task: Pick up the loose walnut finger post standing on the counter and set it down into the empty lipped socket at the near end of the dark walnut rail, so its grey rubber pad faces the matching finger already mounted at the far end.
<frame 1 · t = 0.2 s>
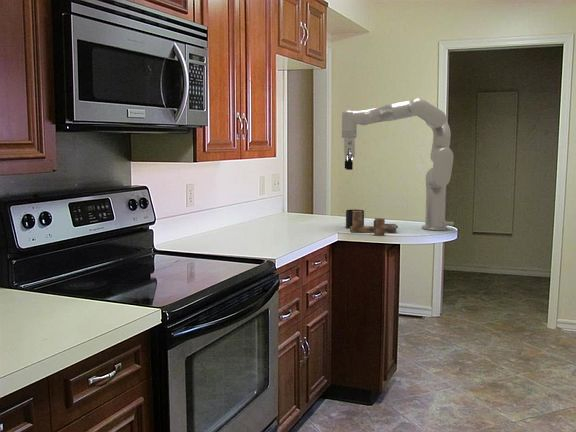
hand: (348, 169, 317), 31 cm above the countertop, fingers open, 9 cm apart
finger: (379, 234, 302), on the countertop
rail: (373, 231, 311), on the countertop
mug: (355, 227, 326), on the countertop
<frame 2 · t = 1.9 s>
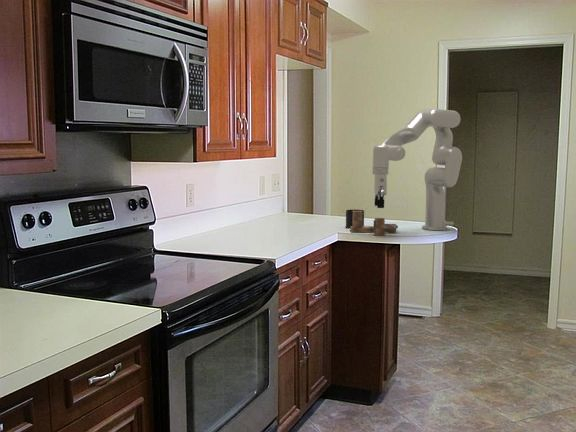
hand: (379, 206, 300), 14 cm above the countertop, fingers open, 9 cm apart
nothing on the countertop moved.
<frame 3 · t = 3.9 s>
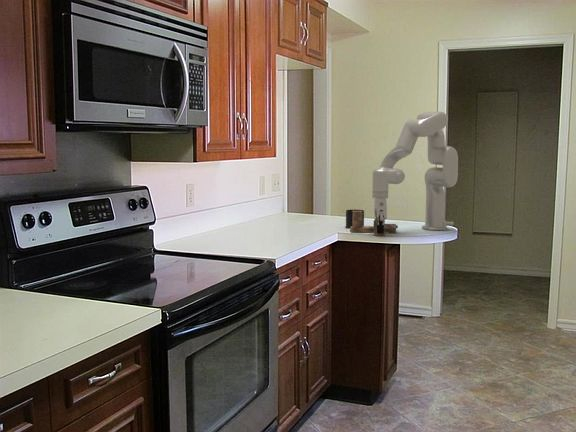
hand: (379, 232, 301), 1 cm above the countertop, fingers closed on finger, 4 cm apart
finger: (379, 234, 302), on the countertop, touching gripper
everything else where it was.
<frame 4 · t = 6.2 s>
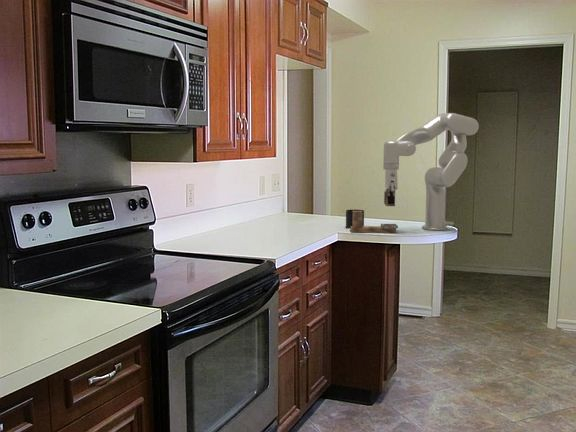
hand: (390, 203, 309), 15 cm above the countertop, fingers closed on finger, 4 cm apart
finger: (389, 205, 309), point 13 cm above the countertop, touching gripper
everything else where it was.
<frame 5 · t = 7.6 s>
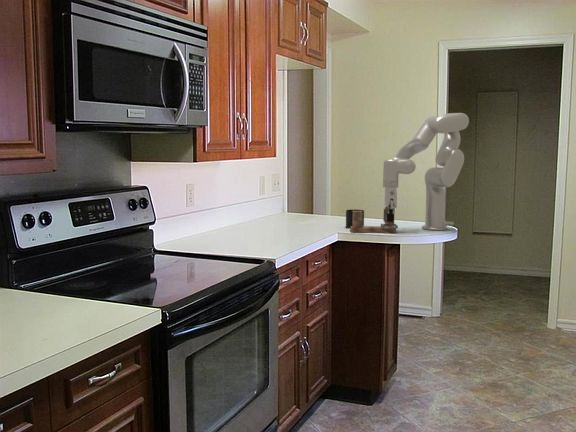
hand: (389, 220, 310), 6 cm above the countertop, fingers closed on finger, 4 cm apart
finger: (389, 223, 310), point 4 cm above the countertop, touching gripper
everything else where it was.
when the fingers open (5 cm above the countertop, at t = 8.6 s): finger stays where it is, resting on rail.
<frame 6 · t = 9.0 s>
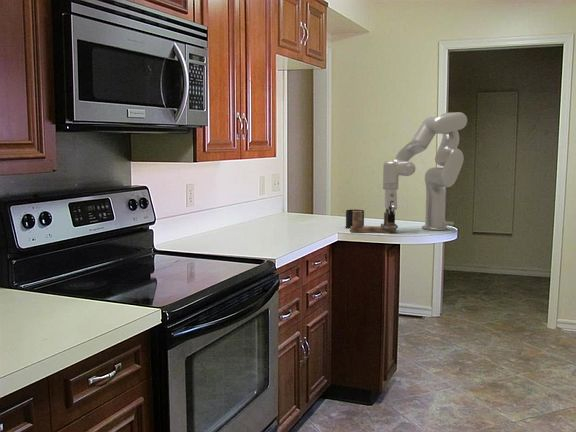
hand: (389, 220, 310), 6 cm above the countertop, fingers open, 8 cm apart
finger: (389, 227, 310), point 2 cm above the countertop, touching rail
everything else where it was.
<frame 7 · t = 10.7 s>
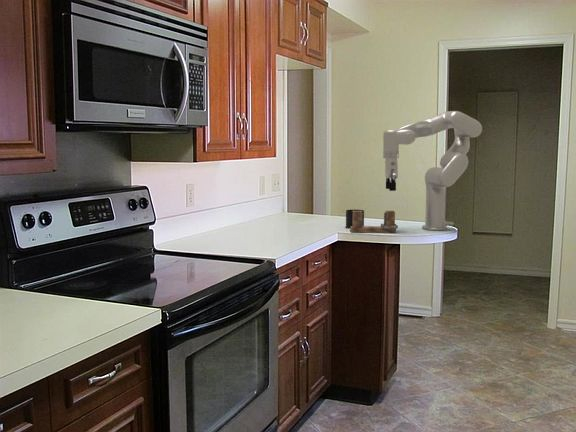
hand: (390, 189, 309), 21 cm above the countertop, fingers open, 9 cm apart
nothing on the countertop moved.
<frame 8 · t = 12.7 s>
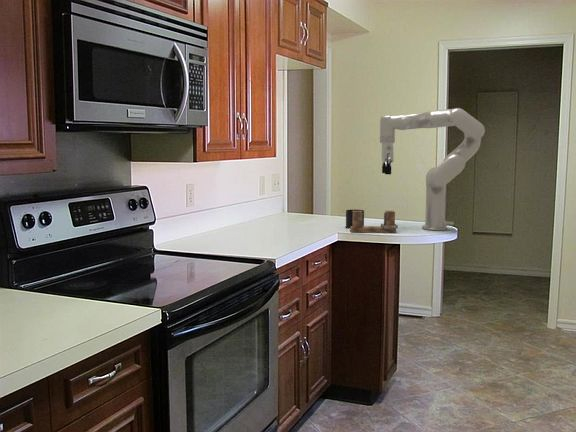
hand: (386, 173, 319), 28 cm above the countertop, fingers open, 9 cm apart
nothing on the countertop moved.
at the end: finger 0.3 cm from the target spot on the rail, point 2.4 cm above the rail's base; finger tilted 0°; the gripper is holding nothing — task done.
